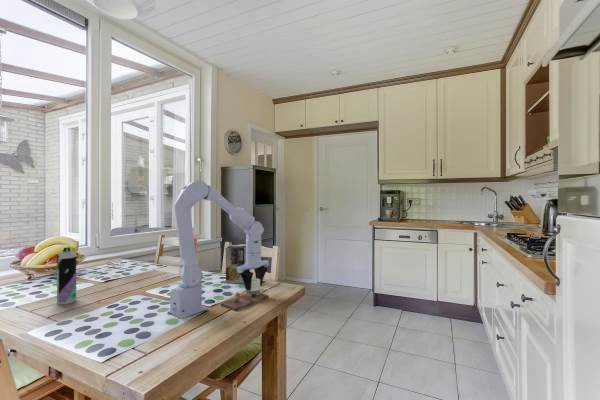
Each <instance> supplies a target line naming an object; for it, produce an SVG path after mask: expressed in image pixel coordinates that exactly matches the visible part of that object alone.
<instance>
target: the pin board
mask: <svg viewBox="0 0 600 400" xmlns="http://www.w3.org/2000/svg"><path fill="white" fill-rule="evenodd" d="M269 298H270V297H269V294H265V293H262V292H260V293H258V294H247V293H245V294H242V295H240V292H235V293H234V298H231V299H228V300H225V301H222V302H220V306H222V307H223V308H226V309H229V310H231V311H235V312H236V311H239V310H242V309H243V308H244V309H245V308H246V307H249V306H253V305H254V304H257V303H259V302H262V301H264V300H267V299H269Z"/></svg>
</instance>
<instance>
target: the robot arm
mask: <svg viewBox="0 0 600 400" xmlns="http://www.w3.org/2000/svg"><path fill="white" fill-rule="evenodd" d="M201 200H204V201H210V202H212V203H213V204H215V205H217V207H219V208H221V210H223V211H224V212H225V213H227V214H228V215H229V220H230V221H232V222H233V223H234V224H235V225H237V226H238V228H240V229H242V230H243V232H244V234H245V236H246V237H245V238H246V239H245V246H246V263H245V264H244V265H242V266H239V267H237V272H238V273H240V275H241V277H242V279H243V281H244V283H243V284H244V288H245V290H246V291H247V290H251V281H252V278H253V276H254V273H255V278H257V279H260V288H261V287H262V285H263V282H264V281H263V280H264V279H265V278H264V277H265V276H266V275H265V274H266V273H267V271H268V266H269V265H270V264H269V263H270V262H269V260H267V259H265V260H262V235H263V233H264V231H265V229H264V226H263V224H262V223H261V222H260V221H257V220H255V219H256V218H255V217H254V216H251V215H250V214H249V213H248V212H247V209H245V208H243V207H240V206H238V207H235V206H234V205H233V204H232V203H231V202H230V201H228V200H227V198H225V197H224V196H222V194H221V193H219V192H218V191H217V190H216V189H215V188H214V187H212V186H211V185H208V184H207V183H206V182H205V181H204V180H201V179H197V180H193V181H190V182H188V183H187V184H186V185H184V186H183V187H182V189H181V191H180V193H179V194H178V197H177V199H176V200H175V202H174V205H173V209H174V217H175V225H176V231H177V239H178V246H179V253H180V259H179V260H180V262H179V263H180V265H179V269H178V275H179V277H180V278H181V280H180V281H179V282H178V286H177V287H175V288H172V289H171V291H170V297H169V300H170V301H169V302H170V303H169V304H170V306H169V307H170V309H169V311H168V313H169V314H171V315H173V316H176V317H178V318H180V319H183V318H187V317H189V316H192V315H196V314H198V313H201V312H204V311H207V310H208V307H206V306H204V305H203V303H202V302H203V301H202V300H203V297H202V296H203V294H202V293H203V284H202V283H203V282H202V280H203V277H204V275H203V274H204V273H203V271H202V270H201V268H200V267H199V261H198V257H197V254H196V246H195V238H194V229H193V223H192V215H191V209H192V208H193V207H194V206H195V205H196V203H198V202H200V201H201ZM251 270H253V271H254V272H251Z"/></svg>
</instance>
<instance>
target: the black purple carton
mask: <svg viewBox="0 0 600 400" xmlns="http://www.w3.org/2000/svg"><path fill="white" fill-rule="evenodd" d="M76 301H77V253H76V252H74V251H73V250H71V247H63V249H62V250H61V252H60V253H58V254H57V256H56V304H57V305H66V304H67V305H68V304H71V303H75V302H76Z"/></svg>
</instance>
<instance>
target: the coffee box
mask: <svg viewBox="0 0 600 400" xmlns="http://www.w3.org/2000/svg"><path fill="white" fill-rule="evenodd" d="M245 263H246V245H229V246H227V247H225V284H244V281H243V279H242V277H241V275H240V273H238V272H237V267H239V266H242V265H244V264H245Z"/></svg>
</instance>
